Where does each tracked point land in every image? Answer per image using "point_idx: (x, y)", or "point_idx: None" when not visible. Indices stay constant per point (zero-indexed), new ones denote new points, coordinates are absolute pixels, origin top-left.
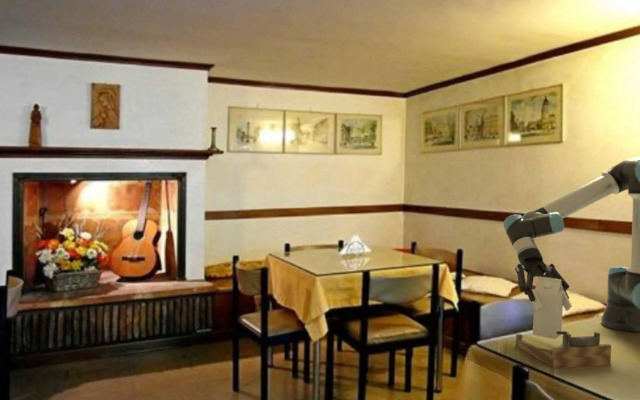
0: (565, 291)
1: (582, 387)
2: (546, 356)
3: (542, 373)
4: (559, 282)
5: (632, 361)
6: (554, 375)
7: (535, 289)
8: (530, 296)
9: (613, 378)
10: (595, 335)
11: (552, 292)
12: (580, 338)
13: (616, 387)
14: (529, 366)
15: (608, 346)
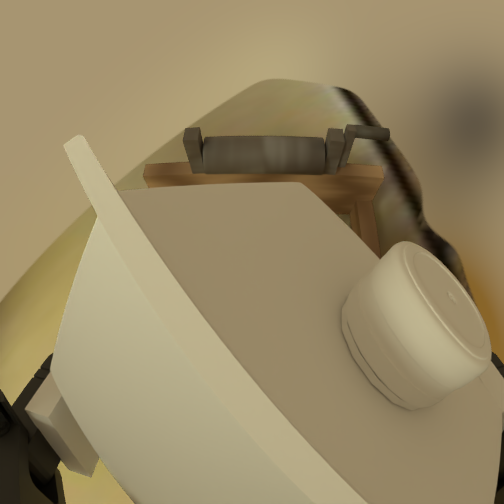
0: (19, 405)
1: (353, 109)
2: (375, 229)
3: (410, 181)
4: (135, 214)
5: (79, 220)
6: (385, 165)
7: (499, 409)
8: (502, 374)
9: (241, 129)
10: (200, 140)
11: (353, 233)
12: (282, 136)
13: (276, 98)
14: (425, 228)
15: (157, 166)
